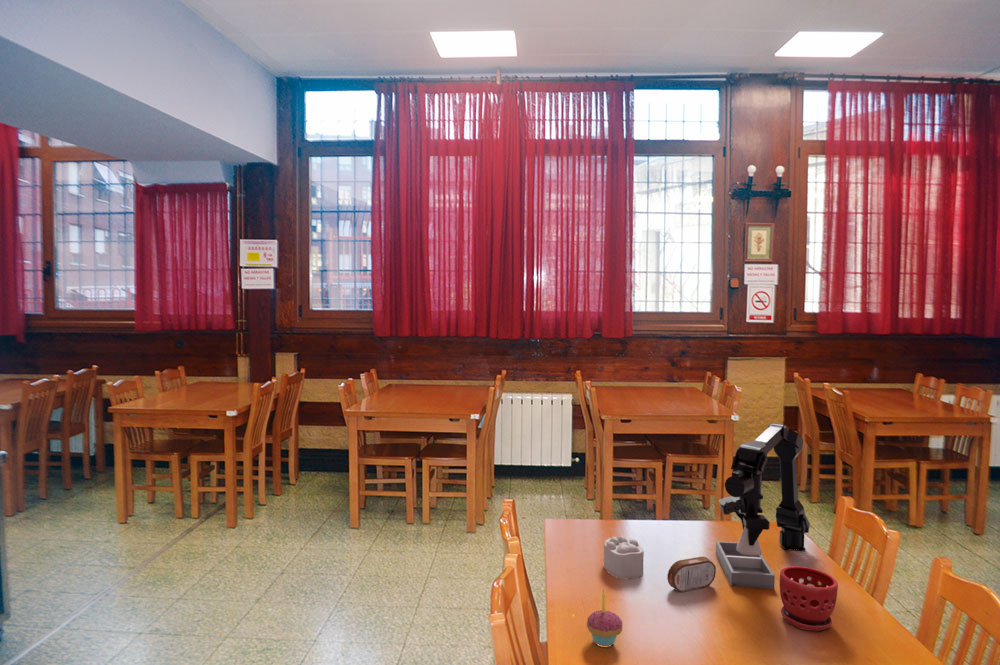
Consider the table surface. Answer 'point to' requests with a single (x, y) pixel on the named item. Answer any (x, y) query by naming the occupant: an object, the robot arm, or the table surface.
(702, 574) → the tin
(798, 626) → the plant pot
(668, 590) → the table surface
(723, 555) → the caddy
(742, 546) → the flask
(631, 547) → the lumpy-topped squat cylinder
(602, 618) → the cupcake
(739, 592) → the table surface
